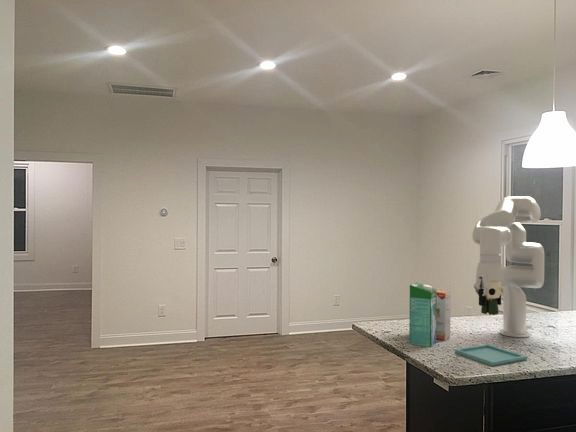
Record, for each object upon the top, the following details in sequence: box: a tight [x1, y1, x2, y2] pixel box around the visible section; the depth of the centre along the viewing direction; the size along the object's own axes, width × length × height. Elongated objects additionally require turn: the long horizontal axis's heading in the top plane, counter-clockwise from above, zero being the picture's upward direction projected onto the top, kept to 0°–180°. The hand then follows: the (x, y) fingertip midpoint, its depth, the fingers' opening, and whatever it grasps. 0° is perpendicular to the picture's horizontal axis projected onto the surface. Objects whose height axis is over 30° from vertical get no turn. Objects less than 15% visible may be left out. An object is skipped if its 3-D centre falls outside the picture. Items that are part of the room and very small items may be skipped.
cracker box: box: [436, 290, 451, 341], centre depth 207 cm, size 14×6×21 cm, turn 47°
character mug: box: [474, 281, 505, 316], centre depth 178 cm, size 11×7×13 cm, turn 51°
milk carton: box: [408, 282, 437, 348], centre depth 197 cm, size 9×9×25 cm
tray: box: [454, 343, 528, 367], centre depth 178 cm, size 18×18×2 cm
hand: (489, 304), depth 178 cm, fingers closed on character mug, 7 cm apart
